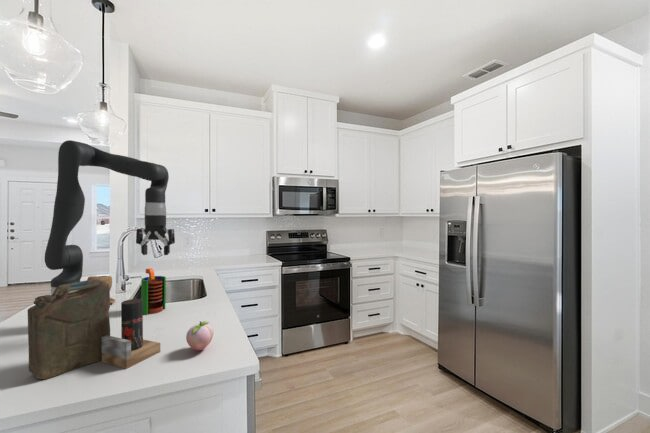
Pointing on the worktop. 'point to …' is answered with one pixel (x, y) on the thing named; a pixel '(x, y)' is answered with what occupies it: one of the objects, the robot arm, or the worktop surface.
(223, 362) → the worktop surface
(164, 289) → the motor
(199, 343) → the decorative fruit
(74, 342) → the canister
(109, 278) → the stone cup
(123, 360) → the step
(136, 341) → the deodorant
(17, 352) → the worktop surface
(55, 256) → the robot arm
